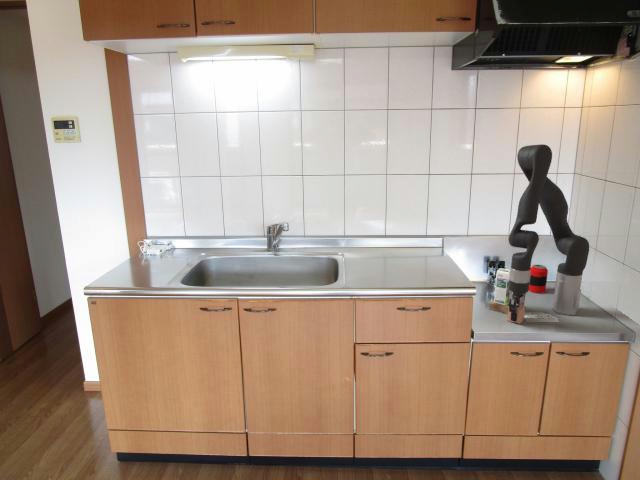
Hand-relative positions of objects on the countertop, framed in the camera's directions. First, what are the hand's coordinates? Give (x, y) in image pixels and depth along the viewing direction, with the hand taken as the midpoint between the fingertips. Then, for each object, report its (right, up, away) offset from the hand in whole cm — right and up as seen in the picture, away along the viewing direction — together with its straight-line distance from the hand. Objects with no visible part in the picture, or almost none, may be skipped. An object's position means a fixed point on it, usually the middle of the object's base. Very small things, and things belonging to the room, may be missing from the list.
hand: (515, 318), depth 182 cm
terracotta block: (0, -1, 0) cm, 1 cm away
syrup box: (-1, +5, +11) cm, 12 cm away
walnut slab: (-1, +2, +11) cm, 12 cm away
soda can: (+23, +8, +30) cm, 39 cm away
